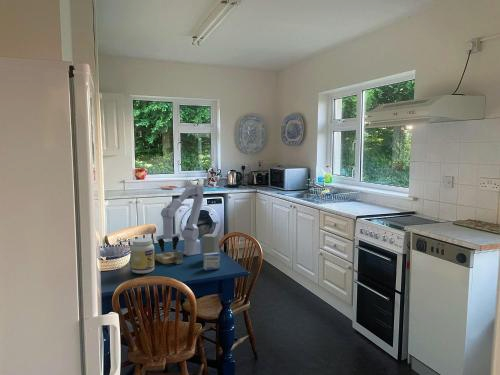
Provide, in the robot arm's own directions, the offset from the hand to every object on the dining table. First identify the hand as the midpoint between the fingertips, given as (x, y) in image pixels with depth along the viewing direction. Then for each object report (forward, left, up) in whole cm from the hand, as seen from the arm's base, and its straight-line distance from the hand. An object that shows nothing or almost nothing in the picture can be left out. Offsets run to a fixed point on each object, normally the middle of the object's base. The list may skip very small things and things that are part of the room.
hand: (168, 250), depth 225 cm
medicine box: (-11, +30, -6) cm, 33 cm away
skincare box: (-19, +17, -6) cm, 26 cm away
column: (-2, +9, -6) cm, 11 cm away
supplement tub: (+20, +10, -6) cm, 23 cm away
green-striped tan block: (0, 0, -6) cm, 6 cm away
